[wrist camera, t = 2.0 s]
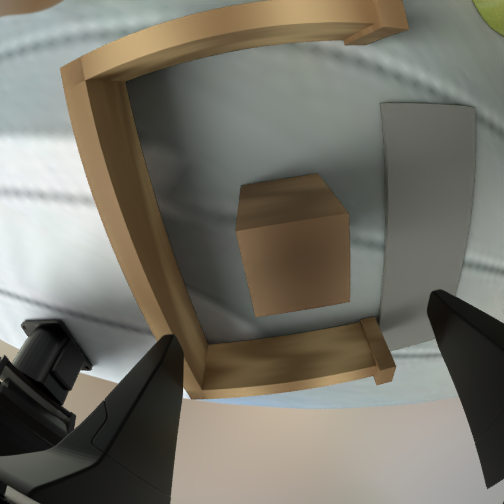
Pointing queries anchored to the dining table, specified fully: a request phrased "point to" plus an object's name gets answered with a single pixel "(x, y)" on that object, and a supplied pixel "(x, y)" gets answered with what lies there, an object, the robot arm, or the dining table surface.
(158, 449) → the robot arm
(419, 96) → the dining table surface
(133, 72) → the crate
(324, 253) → the block
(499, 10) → the plant pot
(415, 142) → the mat
